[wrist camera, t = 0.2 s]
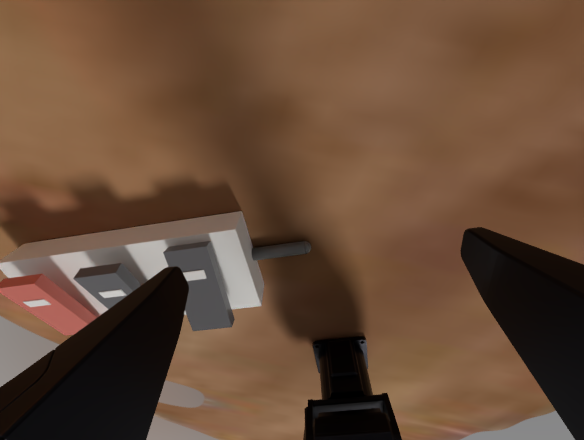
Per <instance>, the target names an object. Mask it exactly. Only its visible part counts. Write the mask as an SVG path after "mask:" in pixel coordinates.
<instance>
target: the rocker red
mask: <svg viewBox="0 0 584 440" xmlns="http://www.w3.org/2000/svg"><path fill="white" fill-rule="evenodd" d="M0 293H1V294H3V295H4V296H6V297H7V298H9V299H10V300H12V301H13V302H15V303H16V304H18V305H19V306H21V307H22V308H24V309H26V310H27V311H29V312H30V313H32V314H33V315H35V316H36V317H38V318H39V319H41V320H42V321H44V322H45V323H47V324H48V325H50V326H51V327H53V328H55V329H56V330H58V331H59V332H61V333H62V334H64V335H74V334H75V333H77V332H78V331H79V330H81V329H82V328H84V327H85V326H86V325H88V324H89V323H90V322H92V321H93V320H95V319H96V318H97V317H96V316H95V315H94V314H92V313H91V312H90V311H89V310H87V309H86V308H85V307H84V306H83V305H81V304H80V303H79V302H78V301H76V300H75V299H74V298H73V297H71V296H70V295H69V294H68V293H66V292H65V291H64V290H63V289H61V288H60V287H59V286H58V285H56V284H55V283H54V282H53V281H51V280H50V279H49V278H48V277H46V276H45V275H44V274H36V275H28V276H21V277H14V278H6V279H3V280H2V281H1V282H0Z"/></svg>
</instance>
